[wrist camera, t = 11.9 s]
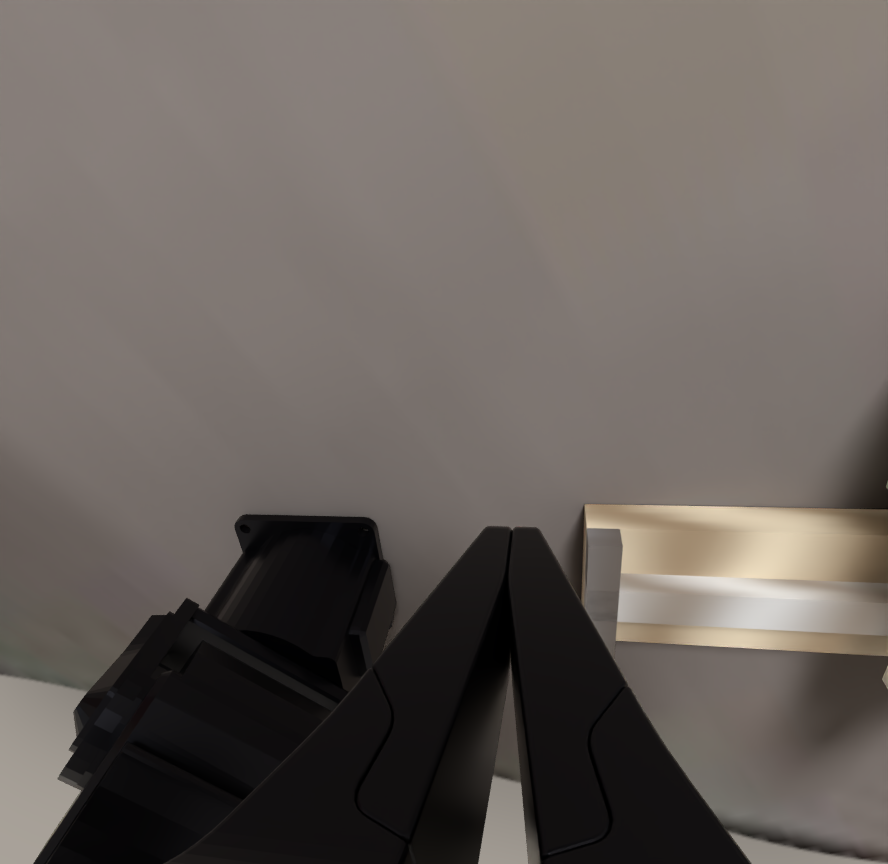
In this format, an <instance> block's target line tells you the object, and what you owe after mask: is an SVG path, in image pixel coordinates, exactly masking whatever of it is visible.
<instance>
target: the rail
mask: <svg viewBox="0 0 888 864" xmlns="http://www.w3.org/2000/svg"><path fill="white" fill-rule="evenodd" d="M581 602H582V604H583V606H584V608H585V609H586V611H587V613H588V615H589V616H590V618H591V620H592V622H593V623H594V625H595V627H596V629H597V630H598V632H599V634H600V636H601V637H602V639H603V641H604V643H605V644H606V646H607V648H608V650H609V651H610V653H611V655H612V657H613V658H614V656H615V643H616V641H632V642H649V643H667V644H684V645H701V646H719V647H736V648H753V649H771V650H788V651H805V652H823V653H840V654H857V655H875V656H888V510H886V509H829V508H773V507H716V506H659V505H602V504H585V508H584V537H583V567H582V597H581Z"/></svg>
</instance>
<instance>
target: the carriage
mask: <svg viewBox="0 0 888 864" xmlns="http://www.w3.org/2000/svg"><path fill="white" fill-rule="evenodd" d="M882 680H883V682H884V684H885V685H886V687H887V689H888V666H887V668H886V671H885V673H884V675H883V678H882Z"/></svg>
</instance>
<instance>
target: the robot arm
mask: <svg viewBox="0 0 888 864" xmlns="http://www.w3.org/2000/svg"><path fill="white" fill-rule="evenodd" d="M245 525H247V526H249V527H250V528H249V527H247V526H245ZM362 527H363V528H366V529H367V530H368V531H365V530H363V529H361V528H362ZM235 531H236V534H237V536H238V539H239V542H240V545H241V548H242V551H243V554H242V555H241V557H240V558H239V560H238V561H237V563H236V564H235V566H234V567H233V569H232V570H231V572H230V573H229V575H228V576H227V578H226V579H225V581H224V582H223V583H222V585H221V586H220V588H219V589H218V591H217V592H216V594H215V595H214V597H213V598H212V600H211V601H210V603H209V604H208V606H207V607H206V609H205V610H202V609H200V608H198V607H199V604H197V603H195V602H193V601H191V600H190V599H188V598H186V599H185V601H184V602H183V603H182V605H181V606H180V607H179V609H178V610H177V611H176V613H175V614H174V613H172V612H170V611H169V613H168V614H167V615H152V616H151V617H150V618H149V620H148V621H147V622H146V624H145V625H144V626H143V627H142V629H141V630H140V631H139V633H138V634H137V635H136V637H135V638H134V639H133V641H132V642H131V643H130V644H129V646H128V647H127V648H126V649H125V651H124V652H123V653H122V654H121V655H120V657H119V658H118V659H117V660H116V661H115V662H114V663H113V664H112V666H111V667H110V668H109V669H108V670H107V671H106V672H105V673H104V675H103V676H102V677H101V678H100V679H99V680H98V681H97V682H96V683H95V685H94V686H93V687H92V688H91V689H90V690H89V691H88V692H87V694H86V695H85V696H84V698H83V699H82V700H81V701H80V703H79V704H78V706H77V707H76V709H75V710H74V712H73V713H74V721H75V728H76V736H77V738H76V739H75V741H74V742H73V743H72V745H71V747H70V748H69V751H71V752H73V753H74V754H73V755H72V757H71V758H70V760H69V761H68V763H67V764H66V766H65V767H64V769H63V770H62V772H61V774H60V775H59V777H58V780H60V781H63V782H64V783H66V784H69V785H71V786H73V787H75V788H77V789H79V790H81V792H80V793H79V795H78V796H77V798H76V799H75V801H74V802H73V804H72V805H71V807H70V808H69V810H68V811H67V812H66V814H65V816H64V817H63V819H62V820H61V821H60V823H59V824H58V826H57V827H56V829H55V830H54V832H53V833H52V835H51V837H50V838H49V840H48V841H47V843H46V844H45V846H44V848H43V849H42V851H41V852H40V854H39V855H38V857H37V859H36V860H35V862H34V864H478V861H479V854H480V849H481V843H482V837H483V831H484V824H485V819H486V812H487V807H488V801H489V795H490V789H491V782H492V776H493V770H494V764H495V758H496V752H497V746H498V740H499V734H500V728H501V722H502V716H503V710H504V704H505V698H506V692H507V686H508V679H509V672H510V662H511V668H512V684H513V696H514V707H515V718H516V729H517V741H518V752H519V763H520V774H521V786H522V796H523V808H524V820H525V831H526V842H527V852H528V864H751V862H750V861H749V860H748V858H747V857H746V856H745V854H744V853H743V851H742V850H741V849H740V847H739V846H738V845H737V843H736V842H735V841H734V840H733V838H732V837H731V835H730V834H729V833H728V831H727V830H726V829H725V827H724V826H723V824H722V823H721V822H720V820H719V819H718V818H717V816H716V815H715V814H714V812H713V811H712V810H711V808H710V807H709V806H708V804H707V803H706V802H705V800H704V799H703V798H702V796H701V795H700V793H699V792H698V791H697V789H696V788H695V787H694V785H693V784H692V783H691V781H690V780H689V778H688V777H687V775H686V774H685V773H684V771H683V770H682V768H681V767H680V766H679V764H678V763H677V761H676V760H675V758H674V757H673V756H672V754H671V753H670V751H669V750H668V748H667V747H666V746H665V744H664V742H663V741H662V739H661V738H660V736H659V734H658V733H657V731H656V729H655V728H654V726H653V725H652V723H651V721H650V720H649V718H648V717H647V715H646V713H645V712H644V710H643V708H642V707H641V705H640V703H639V701H638V700H637V698H636V696H635V694H634V693H633V691H632V689H631V688H630V687H628V683H627V681H626V679H625V677H624V676H623V674H622V672H621V670H620V669H619V667H618V665H617V663H616V662H615V660H614V658H613V657H612V655H611V653H610V651H609V650H608V648H607V646H606V644H605V643H604V641H603V639H602V637H601V636H600V634H599V632H598V630H597V629H596V627H595V625H594V623H593V622H592V620H591V618H590V616H589V615H588V613H587V611H586V609H585V608H584V606H583V604H582V602H581V601H580V599H579V597H578V595H577V594H576V592H575V590H574V588H573V587H572V585H571V583H570V582H569V580H568V578H567V576H566V575H565V573H564V571H563V569H562V568H561V566H560V564H559V562H558V561H557V559H556V557H555V555H554V554H553V552H552V550H551V548H550V547H549V545H548V543H547V541H546V540H545V538H544V536H543V534H542V533H541V531H540V530H539V529H538V528H536V527H515V528H514V529H513V530H511V528H510V527H503V526H488V527H486V528H484V530H483V531H482V532H481V533H480V534H479V536H478V537H477V538H476V539H475V541H474V542H473V543H472V544H471V545H470V547H469V548H468V549H467V550H466V551H465V553H464V554H463V555H462V556H461V558H460V559H459V560H458V561H457V562H456V564H455V565H454V566H453V567H452V568H451V570H450V571H449V572H448V573H447V575H446V576H445V577H444V578H443V579H442V581H441V582H440V583H439V584H438V585H437V587H436V588H435V589H434V590H433V592H432V593H431V594H430V595H429V596H428V598H427V599H426V600H425V601H424V603H423V604H422V605H421V606H420V607H419V609H418V610H417V611H416V612H415V613H414V615H413V616H412V617H411V618H410V620H409V621H408V622H407V623H406V624H405V626H404V627H403V628H402V629H401V630H400V632H399V633H398V634H397V635H396V637H395V638H394V639H393V640H392V641H391V643H390V644H389V645H388V646H387V647H386V649H385V650H384V651H383V652H382V650H383V647H384V643H385V640H386V637H387V633H388V630H389V629H390V628H391V627H392V624H393V620H394V615H393V613H394V610H395V606H396V599H395V593H394V588H393V582H392V577H391V571H390V566H389V564H388V563H387V561H386V560H383V556H382V551H381V546H380V540H379V535H378V530H377V526H376V523H375V522H374V521H373V520H371V519H370V518H366V517H335V516H292V515H248V514H246V515H242V516H240V517H239V519H238V520H237V521H236V523H235ZM381 653H382V654H381Z"/></svg>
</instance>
